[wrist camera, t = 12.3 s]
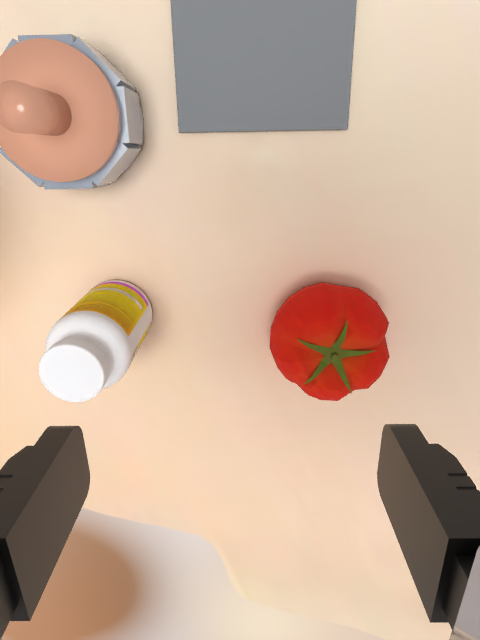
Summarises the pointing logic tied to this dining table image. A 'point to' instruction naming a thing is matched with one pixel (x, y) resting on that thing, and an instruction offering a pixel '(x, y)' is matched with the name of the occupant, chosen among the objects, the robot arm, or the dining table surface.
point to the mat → (263, 64)
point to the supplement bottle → (95, 341)
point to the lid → (56, 111)
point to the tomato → (330, 340)
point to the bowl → (129, 120)
